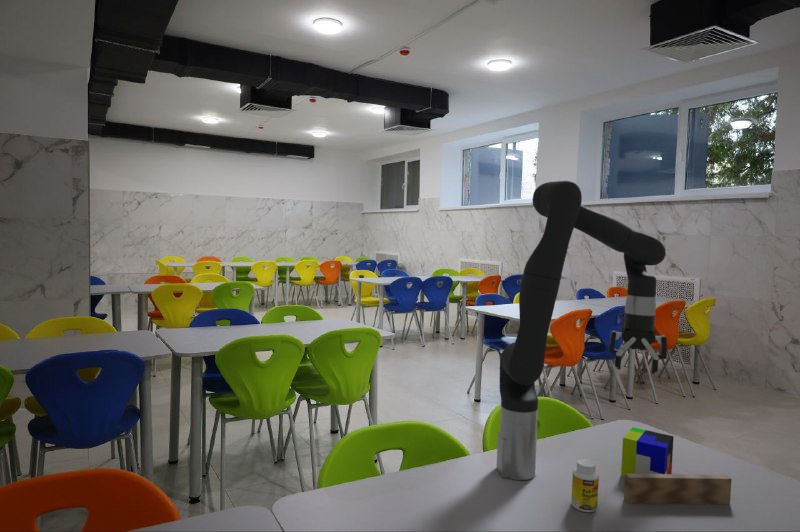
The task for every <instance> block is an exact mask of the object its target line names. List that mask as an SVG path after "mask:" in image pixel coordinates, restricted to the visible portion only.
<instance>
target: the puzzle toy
mask: <svg viewBox="0 0 800 532" xmlns="http://www.w3.org/2000/svg"><path fill="white" fill-rule="evenodd" d="M673 451H674V435H669V434H666V433H661V432H656V431H652V430H647V429H642V428H638V427H631V428H630V429H629V430H628V432H627V433H626V434H625V435H624V436H623V438H622V449H621V470H620V472H621V473H620V476H622V477H625V474H672V473H673V472H672V471H673V470H672V468H673V455H674V454H673V453H674V452H673Z"/></svg>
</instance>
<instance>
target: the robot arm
mask: <svg viewBox="0 0 800 532" xmlns="http://www.w3.org/2000/svg"><path fill="white" fill-rule="evenodd" d="M582 195H583V194H582V191H581V189H580V186H579V185H578V184H577V183H576V182H574V181H571V180H557V181H548V182H544V183H542V184H540V185H539V186H537V187H536V189H535V191H534V192H533V194H532V204H533V207H534V210H535V212H537V213H538V214H539V215H540V216H543V217H545V218H547V219H546V223H545V228H544V231H543V234H542V236H541V239H540V241H539V242H538V244H537V245H536V247H535V249H533V252H532V253H531V254H530V256H529V257H528V258H527V259H528V260H527V261H526V263H525V266H524V269H523V274H522V278H521V281H520V287H519V293H518V299H519V300H518V302H519V303H518V304H519V305H518V308H519V324H518V326H519V327H518V331H517V335H516V337H515V342H512V343H509V344H508V345H507V346H505V348H504V349H503V350H502V352H501V354H500V358H499V359H500V360H499V394H500V395H499V396H500V425H499V427H500V428H499V431H497V445H496V446H497V448H496V468H497V471H498V473H499V474H500V477H501V478H507V479H511V480H515V481H528V480H531V479H533V478H534V477H536V468H537V467H536V462H537V461H536V460H537V459H536V458H537V441H538V440H537V439H538V438H537V437H538V436H537V435H538V415H539V414H538V413H539V398H538V394H537V390H536V384H535V383H536V382H537V380H538V379H539V378H540V377H541V375H542V373H543V371H544V367H545V366H544V365H545V358H546V357H545V356H546V348H547V339H548V336H549V335H548V333H549V330H550V326H551V321H552V318H553V315H554V309H555V304H556V301H557V297H558V293H559V288H560V284H561V279H562V275H563V274H562V273H563V270H564V266H565V262H566V257H567V253H568V248H569V244H570V241H571V238H572V234H573V231H574V229H576V230H577V231H580V232H582V233H584V234H585V235H588V237H591V238H592V239H595V240H597V241H598V242H600V243H602V244H603V245H605V246H607V247H608V248H610V249H612V250H614V251H615V252H619V253H623V261H624V266H625V272H626V276H627V290H626V291H627V295H626V299H625V304H624V305H625V306H624V318H623V320H624V321H623V331H622V332H619V331H616V330H611V332H610V338H609V345H608V352H609V353H610V354H613V355H615V356H614V357H615V358H614V366H615V368H616V369H617V370H621V366H622V365H621V364H622V355H623V353H625V351H627V349H631V350H640V351H646V350H647V351H648V353H650V355H651V357H652V358H651V364H650V365H651V367H650V374H651V375H652V374H653V375H654V374H655V373H657V372H658V370H659V361H660V360H667V357H668V356H667V352H668V350H667V347H668V346H667V341H668V339H667V336H666V335H664V334H663V335H655V323H656V322H655V321H656V311H657V309H656V307H657V303H656V295H657V294H656V292H657V278H656V276H654V275H653V274H650V273H649V272H648V271H647V270H648V269H647V266H657V265H659V264H661V263H662V262H663V261H664V260H665V258H666V256H667V255H666V247H665V245H664V244H663V243H662V242H661V241H660V240H659V239H657V238H655V237H653V236H651V235H648V234H646V233H643V232H640V231H638V230H635V229H633V228H631V227H629V226H628V225H626V224H624V222H621V221H620V220H618V219H616V218H614V217H612V216H610V215H607V214H605V213H602V212H599V211H598V210H597V211H596V210H593V209H592V208H589V207H586V206H584V205H583V204H582V199H583V197H582ZM620 337H621V338H622V339H623V341H624V342H623V343H622V344H621V345H620V346H619V347H618V348H617V349H616V348H615V345H616V340H619V338H620ZM655 341H657V343H658V344H659V346H660V351H659V352H660V353H657V352H656V351H655V350H654V348H653V347H652V344H653V343H654V342H655Z"/></svg>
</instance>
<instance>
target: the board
mask: <svg viewBox="0 0 800 532" xmlns="http://www.w3.org/2000/svg"><path fill="white" fill-rule="evenodd" d="M731 492H732V478H731V477H730V476H729V475H727V474H691V473H690V474H687V473H685V474H683V473H682V474H680V473H678V474H675V473H673V474H625V476H624V492H623V493H624V494H623V500H625V502H626V503H628V504H670V505H671V504H673V505H674V504H681V505H682V504H684V505H685V504H687V505H688V504H689V505H691V504H692V505H697V504H698V505H730V504H731V496H732V495H731Z"/></svg>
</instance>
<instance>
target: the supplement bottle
mask: <svg viewBox="0 0 800 532" xmlns="http://www.w3.org/2000/svg"><path fill="white" fill-rule="evenodd" d="M596 470H597V467H596V463H595V462H594V461H592V460H589V459H583V458H582V459H578V460H577V461H576V467H575V468H574V469H573V470H572V483H571V484H572V485H571V498H570V500H571V501H570V502H571V506H572V507H573V508H574V509H576V510H577V511H580V512H583V513H593V512H595V511H596V510H597V508H598V498H599V479H600V474H599V472H598V471H596Z"/></svg>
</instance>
